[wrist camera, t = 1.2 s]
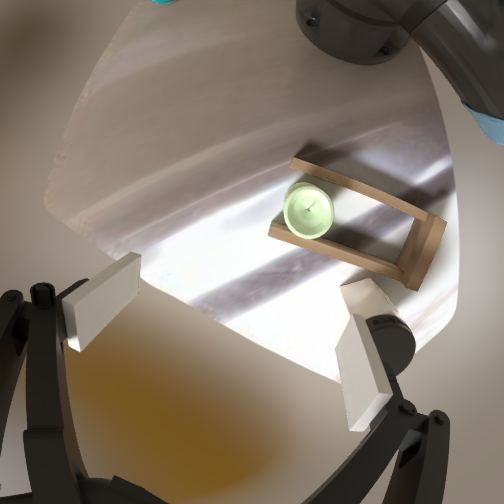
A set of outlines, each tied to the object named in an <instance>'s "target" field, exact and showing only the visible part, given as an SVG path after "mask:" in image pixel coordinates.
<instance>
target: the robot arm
mask: <svg viewBox="0 0 504 504" xmlns="http://www.w3.org/2000/svg"><path fill="white" fill-rule="evenodd" d="M296 18H297V22H298V24H299V26H300V28H301V30H302V32H303V33H304V34H305V36H306V37H307V38H308V39H309V40H310V41H311V42H312V43H313V44H314V45H315V46H317V47H318V48H319V49H321V50H322V51H324V52H325V53H327V54H329V55H331V56H333V57H335V58H338V59H340V60H343V61H346V62H350V63H354V64H361V65H373V64H379V63H383V62H386V61H388V60H390V59H392V58H393V57H394V56H395V55H397V54H398V53H399V52H400V51H401V50H402V49H403V47H404V46H405V44H406V42H407V40H408V37H409V35H410V36H411V37H412V38H413V39H414V40H415V41H416V42H417V43H418V45H419V46H420V47H421V48H422V49H423V50H424V51H425V52H426V54H427V55H428V56H429V57H430V58H431V59H432V60H433V62H434V63H435V64H436V66H437V67H438V68H439V69H440V71H441V72H442V73H443V75H444V76H445V77H446V79H447V80H448V81H449V83H450V84H451V85H452V87H453V88H454V90H455V91H456V93H457V94H458V95H459V97H460V99H461V102H462V104H463V105H464V107H465V108H466V109H467V110H468V111H469V112H471V114H472V115H473V117H474V118H475V120H476V121H477V123H478V125H479V126H480V128H481V129H482V131H483V132H484V134H485V135H486V136H487V137H488V138H489V139H491V140H492V141H494V142H496V143H498V144H499V145H501V146H503V147H504V0H296ZM140 267H141V255H140V254H137V253H134V252H130V253H128V254H127V255H125V256H124V257H122V258H121V259H119V260H118V261H116V262H115V263H113V264H112V265H110V266H109V267H107V268H106V269H104V270H103V271H101V272H100V273H98V274H97V275H96V276H94V277H93V278H91V279H90V280H89V279H87V278H86V279H83V280H80V281H77V282H76V283H74V284H73V285H72V286H70V287H69V288H68V289H66V290H64V291H63V292H61V293H60V294H59V295H57V296H56V295H55V288H54V286H53V285H52V284H49V283H44V282H43V283H37V284H35V285H33V286H32V287H31V289H30V293H31V300H32V303H31V302H27V301H24V299H23V294H22V293H21V292H20V291H18V290H9V291H7V292H5V293H4V294H3V295H2V296H1V298H0V455H1V448H2V442H3V437H4V432H5V427H6V422H7V418H8V413H9V409H10V405H11V401H12V397H13V394H14V390H15V387H16V383H17V380H18V377H19V374H20V371H21V368H22V365H23V362H24V359H25V356H26V353H27V360H26V412H27V430H24V432H23V442H24V451H25V458H26V464H27V470H28V475H29V480H30V485H31V490H32V492H30V493H24V494H19V495H13V496H6V497H0V504H168V503H166V502H164V501H163V500H161V499H160V498H158V497H156V496H155V495H153V494H152V493H150V492H148V491H147V490H145V489H144V488H142V487H140V486H138V485H135V484H133V483H131V482H128V481H126V480H124V479H122V478H119V477H117V476H115V475H114V477H113V479H112V480H110V479H104V478H89V477H88V474H87V471H86V469H85V466H84V464H83V461H82V458H81V454H80V450H79V446H78V442H77V438H76V433H75V428H74V424H73V419H72V413H71V407H70V401H69V394H68V386H67V379H66V368H65V356H64V345H63V341H64V340H65V339H66V338H68V343H69V346H70V347H72V348H74V349H75V350H77V351H79V352H81V351H82V350H83V349H84V348H85V347H86V346H87V345H88V344H89V343H90V342H91V341H92V340H93V339H94V338H95V337H96V335H98V333H99V332H100V331H101V330H102V329H103V328H104V327H105V326H106V325H107V324H108V323H109V322H110V321H111V320H112V319H113V318H114V317H115V316H116V315H117V314H118V313H119V312H120V311H121V310H122V309H123V308H124V307H125V306H126V305H127V304H128V303H129V302H130V301H131V300H133V299H134V298H135V297H136V296H137V295H138V294H139V280H140ZM335 351H336V356H337V361H338V366H339V372H340V377H341V383H342V388H343V394H344V400H345V405H346V412H347V418H348V426H349V431H364V430H365V429H366V427H367V426H368V425H369V424H370V429H371V431H370V432H369V433H368V434H367V435H366V436H365V438H364V439H363V440H362V441H361V442H360V444H359V445H358V447H357V448H356V449H355V450H354V451H353V452H352V453H351V455H350V456H349V457H348V458H347V459H346V460H345V461H344V462H343V464H342V465H341V466H340V467H339V468H338V469H337V470H336V471H335V472H334V473H333V474H332V475H331V476H330V477H329V478H328V479H327V480H326V481H325V482H324V483H323V484H322V485H321V486H320V487H319V488H318V489H317V490H316V491H315V492H314V493H313V494H312V495H311V496H309V497H308V498H307V499H306V500H305V501H304V502H303V503H301V504H360V502H361V501H362V500H363V499H364V497H365V496H366V495H367V493H368V492H369V491H370V489H371V488H372V487H373V485H374V484H375V482H376V481H377V480H378V478H379V477H380V476H381V474H382V473H383V471H384V470H385V468H386V467H387V465H388V463H389V462H390V461H391V459H392V458H393V456H394V454H395V453H396V451H397V449H398V450H399V452H398V456H397V459H396V463H395V466H394V470H393V473H392V476H391V479H390V483H389V485H388V488H387V492H386V494H385V497H384V500H383V503H382V504H442V500H443V495H444V488H445V481H446V474H447V465H448V454H449V440H450V420H449V418H448V416H447V415H446V414H445V413H444V412H442V411H440V410H433V411H432V412H431V413H430V414H429V415H428V416H427V415H423V414H420V413H417V410H416V407H415V406H414V404H412V403H411V402H410V401H408V400H406V399H404V398H403V395H402V392H401V390H400V387H399V384H398V383H397V379H396V377H395V374H394V372H393V369H392V368H391V367H390V365H389V364H388V363H387V362H382V361H381V359H380V356H379V354H378V351H377V349H376V346H375V344H374V341H373V339H372V336H371V334H370V331H369V329H368V326H367V324H366V321H365V319H364V317H363V316H362V315H358V314H353V313H352V314H351V317H350V319H349V321H348V323H347V325H346V327H345V329H344V331H343V334H342V336H341V338H340V340H339V342H338V344H337V346H336V348H335ZM0 490H1V484H0Z"/></svg>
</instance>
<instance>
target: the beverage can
mask: <svg viewBox="0 0 504 504" xmlns="http://www.w3.org/2000/svg"><path fill="white" fill-rule="evenodd" d="M152 1H154V2H156V3H160V4H170V3H173V2H176V1H177V0H152Z"/></svg>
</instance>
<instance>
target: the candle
mask: <svg viewBox="0 0 504 504" xmlns="http://www.w3.org/2000/svg"><path fill="white" fill-rule="evenodd" d="M284 218H285V222H286V224H287V226H288V228H289V229H290V230H291V231H292V232H293V233H294V234H296V235H297V236H299V237H302V238H305V239H314V238H317V237H320V236H322V235H323V234H325V233H326V232H327V231H328V230H329V228H330V227H331V225H332V223H333V219H334V207H333V203H332V201H331V199H330V197H329V196H328V195H327V194H326V193H325V192H324V191H323V190H321V189H320V188H318V187H317V186H315V185H313V184H311V183H308V182H300V183H296V184H294V185H292V186H291V187H290V188H289V189H288V190H287V192H286V194H285V196H284Z"/></svg>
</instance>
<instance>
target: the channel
mask: <svg viewBox="0 0 504 504" xmlns="http://www.w3.org/2000/svg"><path fill="white" fill-rule="evenodd" d="M290 168H293V169H296V170H299V171H302V172H305V173H308V174H310V175H313V176H316V177H319V178H322V179H324V180H327V181H330V182H333V183H335V184H338V185H340V186H343V187H346V188H348V189H351V190H353V191H356V192H358V193H361V194H363V195H366V196H368V197H370V198H373V199H375V200H378V201H380V202H382V203H385V204H387V205H389V206H391V207H394V208H396V209H398V210H400V211H403V212H405V213H407V214H409V215H411V216H413V217H415V219H414V222H413V225H412V227H411V230H410V232H409V235H408V237H407V240H406V242H405V245H404V247H403V250H402V252H401V254H400V257H399V259H398V261H397V263H396V265H395V264H393V263H390V262H387V261H385V260H382V259H379V258H377V257H374V256H371V255H369V254H366V253H363V252H360V251H358V250H355V249H352V248H349V247H346V246H344V245H341V244H338V243H335V242H332V241H330V240H327V239H324V238H321V237H317V238H314V239H305V238H302V237H299V236H297V235H296V234H294V233H293V232H292V231H291V230H290V229H289V228H288V226H286V225H282V224H279V223H276V222H273V221H272V222H271V225H270V228H269V232H268V236H270V237H273V238H276V239H279V240H282V241H285V242H288V243H291V244H294V245H297V246H300V247H303V248H306V249H309V250H312V251H315V252H318V253H321V254H324V255H327V256H330V257H333V258H336V259H338V260H341V261H344V262H347V263H350V264H353V265H356V266H359V267H362V268H365V269H367V270H370V271H373V272H376V273H379V274H382V275H384V276H387V277H390V278H393V279H396V280H399V281H400V282H401V283H402V284H403V285H404V286H405V287H406V288H409V289H412V290H414V291H417V292H418V290H419V288H420V286H421V284H422V281H423V279H424V277H425V275H426V273H427V271H428V269H429V266H430V264H431V262H432V260H433V257H434V255H435V253H436V250H437V248H438V245H439V243H440V240H441V238H442V235H443V233H444V230H445V227H446V225H447V222H446V221H444V220H442V219H440V218H439V217H437V216H434V215H432V214H429V213H427V212H425V211H423V210H421V209H419V208H417V207H415V206H413V205H411V204H409V203H407V202H405V201H402V200H400V199H398V198H396V197H394V196H392V195H389V194H387V193H385V192H383V191H380V190H378V189H376V188H373V187H371V186H369V185H366V184H364V183H361V182H359V181H356V180H354V179H351V178H349V177H346V176H344V175H341V174H339V173H336V172H333V171H331V170H328V169H325V168H323V167H320V166H317V165H314V164H311V163H309V162H306V161H303V160H300V159H297V158H294V157H293V158H292V161H291V164H290Z"/></svg>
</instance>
